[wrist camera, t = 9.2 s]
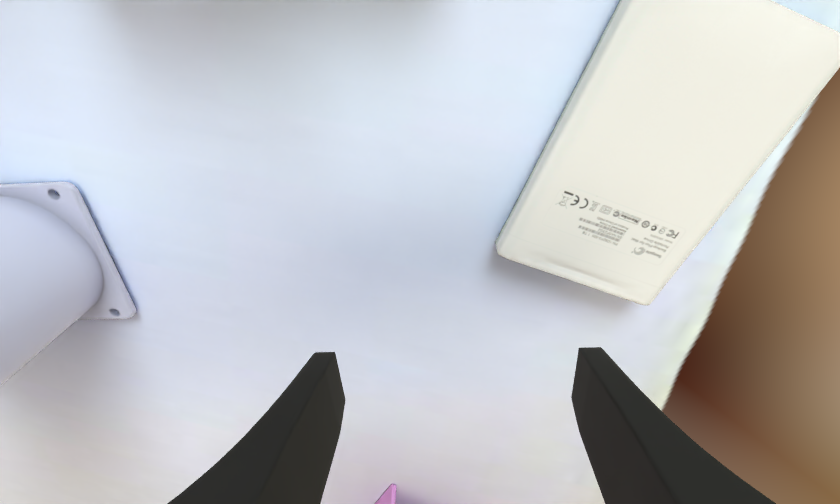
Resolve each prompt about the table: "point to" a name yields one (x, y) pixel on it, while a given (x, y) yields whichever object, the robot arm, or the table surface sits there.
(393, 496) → the toy chair
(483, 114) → the table surface
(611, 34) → the hard drive
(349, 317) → the table surface
